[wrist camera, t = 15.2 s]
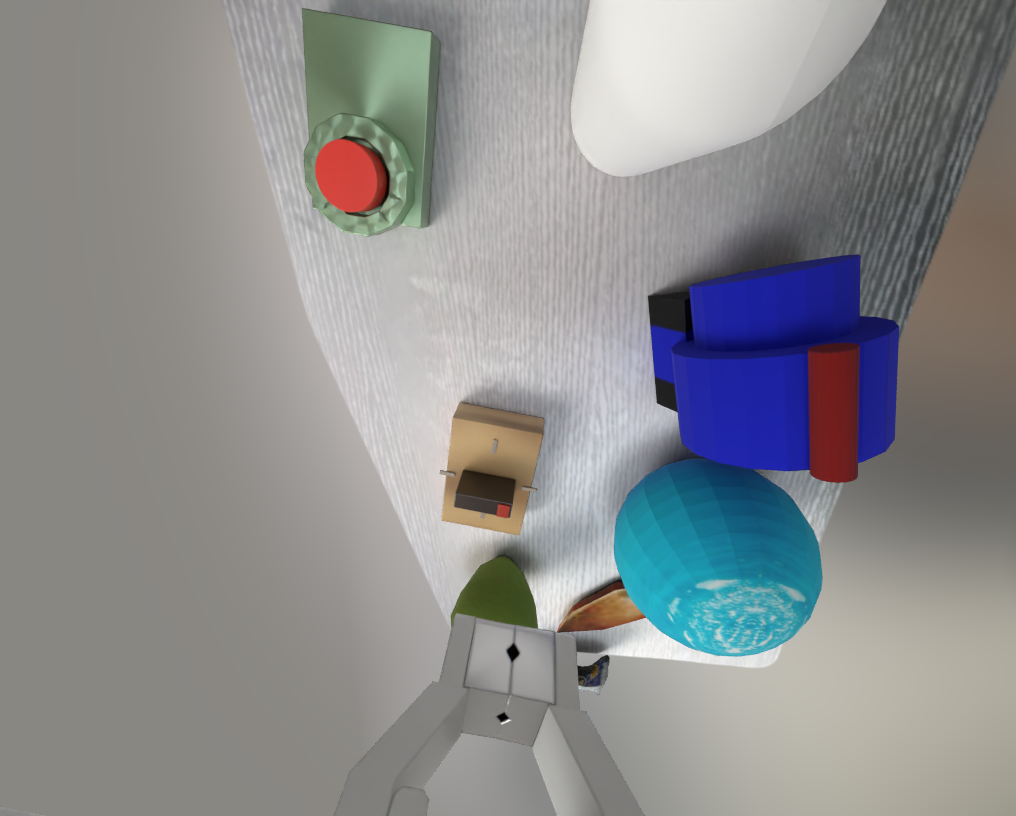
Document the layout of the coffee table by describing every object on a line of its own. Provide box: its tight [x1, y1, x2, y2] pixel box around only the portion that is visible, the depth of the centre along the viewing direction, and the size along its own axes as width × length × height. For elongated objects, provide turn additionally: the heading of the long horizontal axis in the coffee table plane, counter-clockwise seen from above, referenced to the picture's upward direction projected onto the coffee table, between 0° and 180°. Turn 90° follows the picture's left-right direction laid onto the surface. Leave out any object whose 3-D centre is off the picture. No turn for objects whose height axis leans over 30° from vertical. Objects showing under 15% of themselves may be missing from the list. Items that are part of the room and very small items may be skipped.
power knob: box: [454, 470, 516, 518], centre depth 36 cm, size 5×2×4 cm, turn 81°
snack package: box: [577, 655, 609, 695], centre depth 51 cm, size 12×6×12 cm
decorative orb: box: [614, 459, 822, 657], centre depth 33 cm, size 15×15×15 cm
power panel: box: [440, 403, 544, 535], centre depth 39 cm, size 12×9×3 cm
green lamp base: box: [302, 8, 440, 236], centre depth 27 cm, size 12×8×4 cm, turn 171°
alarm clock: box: [648, 255, 899, 483], centre depth 26 cm, size 12×12×15 cm
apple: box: [451, 556, 538, 631], centre depth 42 cm, size 9×8×12 cm
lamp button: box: [315, 139, 387, 212], centre depth 26 cm, size 4×4×2 cm
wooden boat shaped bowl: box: [557, 581, 646, 633], centre depth 47 cm, size 14×6×2 cm, turn 122°
